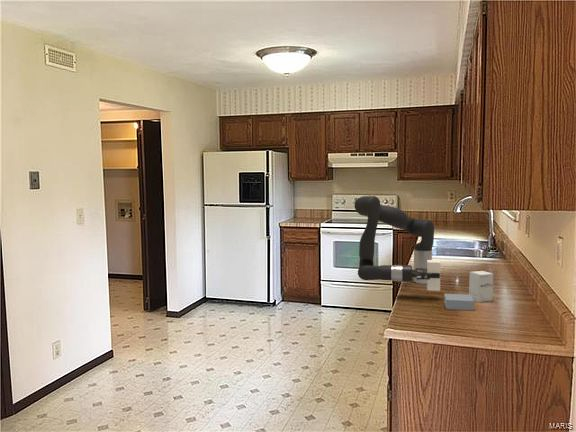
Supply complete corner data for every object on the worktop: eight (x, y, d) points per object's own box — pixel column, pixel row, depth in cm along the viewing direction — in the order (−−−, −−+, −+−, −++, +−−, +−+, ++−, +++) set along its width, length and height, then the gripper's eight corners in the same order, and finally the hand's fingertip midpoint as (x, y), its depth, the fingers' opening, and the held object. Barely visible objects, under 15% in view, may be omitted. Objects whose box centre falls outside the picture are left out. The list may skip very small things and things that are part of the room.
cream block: (426, 287, 226) (427, 259, 225) (439, 287, 225) (439, 260, 223) (427, 290, 221) (427, 262, 219) (440, 290, 219) (440, 262, 218)
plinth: (444, 302, 216) (444, 293, 216) (470, 303, 214) (470, 294, 214) (446, 309, 206) (446, 299, 205) (473, 310, 203) (473, 301, 203)
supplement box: (478, 302, 215) (479, 274, 214) (468, 298, 223) (468, 271, 221) (492, 301, 217) (493, 273, 216) (482, 297, 225) (482, 270, 223)
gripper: (401, 268, 218) (440, 269, 214) (401, 262, 232) (438, 263, 228) (401, 284, 219) (440, 286, 215) (401, 277, 232) (438, 278, 229)
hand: (439, 274), depth 221 cm, fingers closed on cream block, 5 cm apart
